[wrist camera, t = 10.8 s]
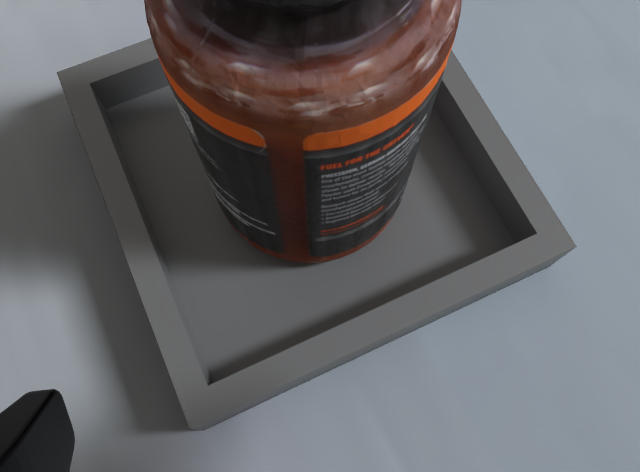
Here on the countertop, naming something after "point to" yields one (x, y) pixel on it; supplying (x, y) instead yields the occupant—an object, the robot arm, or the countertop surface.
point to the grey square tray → (296, 277)
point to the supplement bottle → (305, 109)
